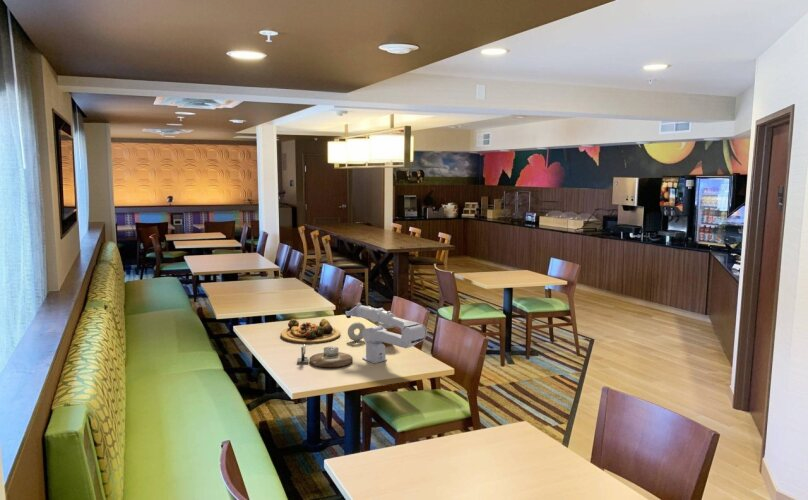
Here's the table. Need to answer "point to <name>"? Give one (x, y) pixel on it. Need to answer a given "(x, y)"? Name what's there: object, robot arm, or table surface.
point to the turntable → (331, 360)
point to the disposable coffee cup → (389, 329)
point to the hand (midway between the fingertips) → (348, 308)
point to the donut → (352, 327)
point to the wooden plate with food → (310, 332)
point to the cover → (331, 351)
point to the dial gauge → (303, 359)
